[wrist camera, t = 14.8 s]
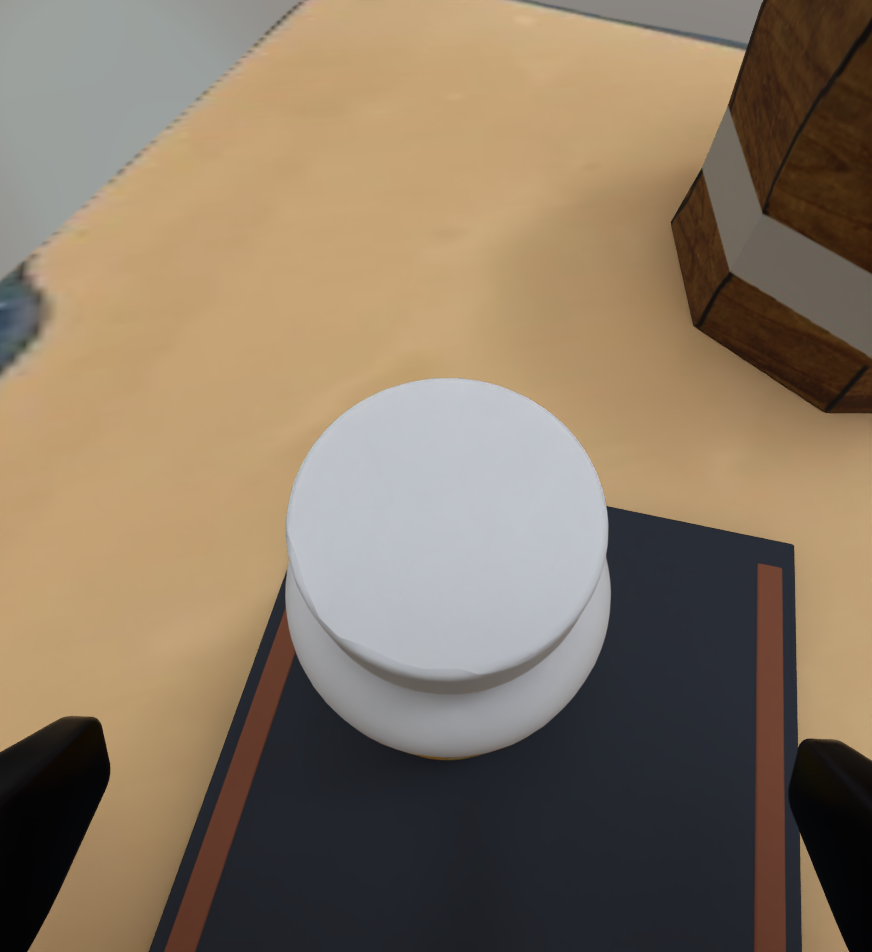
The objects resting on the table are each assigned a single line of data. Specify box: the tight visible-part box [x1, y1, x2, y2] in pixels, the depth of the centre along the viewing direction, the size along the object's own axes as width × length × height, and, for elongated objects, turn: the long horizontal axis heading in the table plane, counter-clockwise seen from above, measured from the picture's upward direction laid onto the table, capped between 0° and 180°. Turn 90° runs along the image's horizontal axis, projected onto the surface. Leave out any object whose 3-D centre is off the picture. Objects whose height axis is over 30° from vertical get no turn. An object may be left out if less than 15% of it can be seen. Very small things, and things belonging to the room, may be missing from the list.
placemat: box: [149, 506, 802, 952], centre depth 14 cm, size 20×14×1 cm
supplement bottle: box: [285, 378, 611, 760], centre depth 12 cm, size 5×5×10 cm
